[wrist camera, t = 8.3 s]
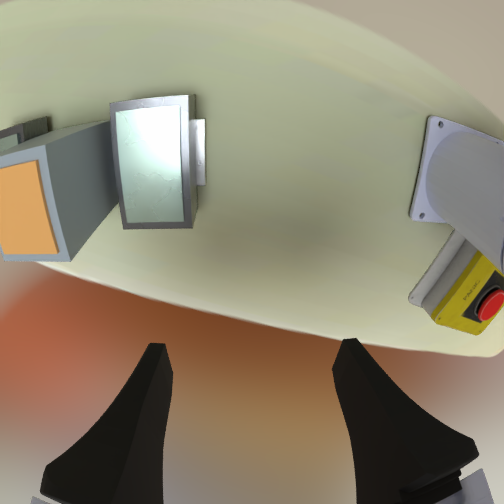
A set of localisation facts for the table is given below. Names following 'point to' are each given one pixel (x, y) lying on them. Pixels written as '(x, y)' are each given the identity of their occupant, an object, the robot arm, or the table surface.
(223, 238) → the table surface
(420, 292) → the emergency button
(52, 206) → the block
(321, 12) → the table surface
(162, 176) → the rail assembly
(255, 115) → the table surface
